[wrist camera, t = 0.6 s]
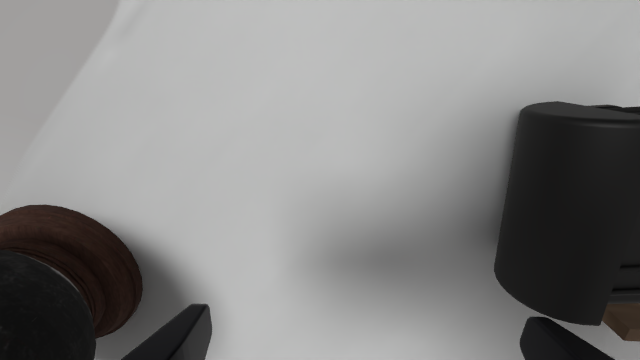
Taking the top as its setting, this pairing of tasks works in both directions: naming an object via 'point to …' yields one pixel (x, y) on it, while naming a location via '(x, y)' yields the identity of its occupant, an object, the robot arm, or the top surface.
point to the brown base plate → (624, 320)
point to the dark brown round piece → (61, 284)
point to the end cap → (573, 211)
